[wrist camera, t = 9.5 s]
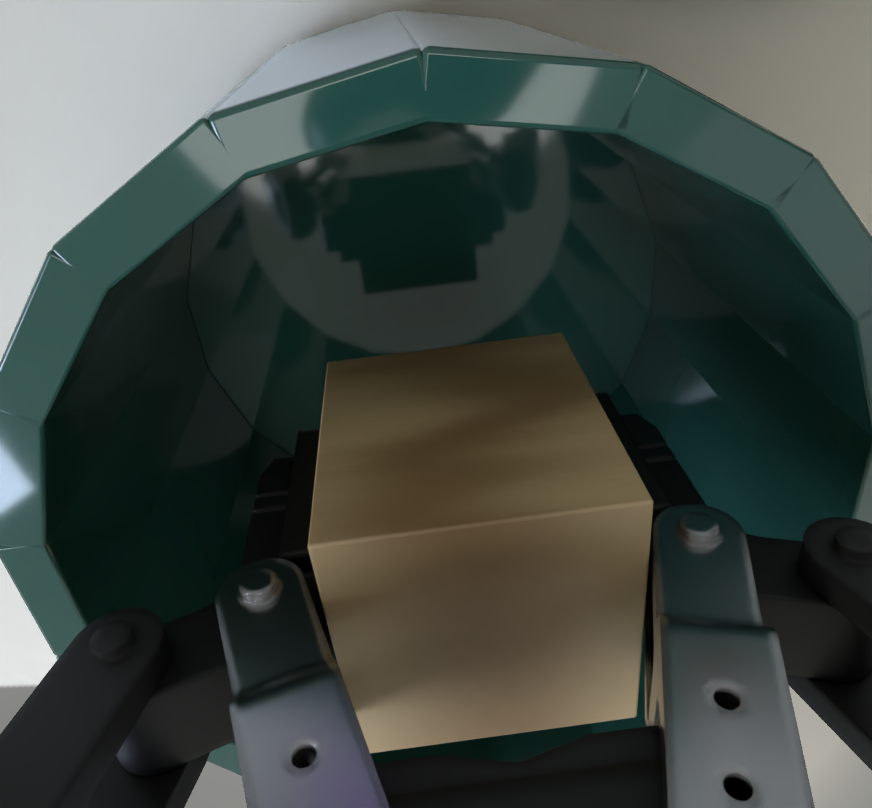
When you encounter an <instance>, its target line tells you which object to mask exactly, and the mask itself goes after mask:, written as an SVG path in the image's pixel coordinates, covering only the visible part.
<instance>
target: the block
mask: <svg viewBox="0 0 872 808" xmlns="http://www.w3.org/2000/svg"><path fill="white" fill-rule="evenodd" d="M652 514H653V500H652V498H651V496H650V494H649V492H648V491H647V489H646V487H645V485H644V483H643V481H642V480H641V478H640V476H639V474H638V472H637V470H636V468H635V467H634V465H633V463H632V461H631V459H630V457H629V456H628V454H627V452H626V450H625V448H624V446H623V445H622V443H621V441H620V439H619V437H618V435H617V433H616V432H615V430H614V428H613V426H612V424H611V422H610V421H609V419H608V417H607V415H606V413H605V411H604V410H603V408H602V406H601V404H600V402H599V400H598V398H597V397H596V395H595V393H594V391H593V389H592V387H591V386H590V384H589V382H588V380H587V378H586V376H585V375H584V373H583V371H582V369H581V367H580V365H579V363H578V362H577V360H576V358H575V356H574V354H573V352H572V351H571V349H570V347H569V345H568V343H567V341H566V340H565V338H564V336H563V334H562V333H555V334H547V335H539V336H531V337H523V338H515V339H507V340H499V341H491V342H483V343H475V344H467V345H459V346H451V347H443V348H436V349H428V350H420V351H412V352H404V353H396V354H388V355H380V356H372V357H364V358H356V359H348V360H340V361H332V362H328V363H327V367H326V377H325V386H324V396H323V405H322V415H321V424H320V433H319V443H318V452H317V462H316V471H315V481H314V490H313V499H312V509H311V518H310V528H309V537H308V546H307V547H308V551H309V555H310V559H311V563H312V567H313V570H314V574H315V578H316V582H317V586H318V590H319V594H320V598H321V602H322V605H323V609H324V613H325V617H326V621H327V625H328V629H329V633H330V637H331V640H332V644H333V648H334V652H335V656H336V660H337V663H338V666H339V668H340V671H341V674H342V677H343V679H344V682H345V685H346V688H347V691H348V693H349V696H350V699H351V702H352V704H353V707H354V710H355V713H356V715H357V718H358V721H359V724H360V727H361V729H362V732H363V735H364V738H365V740H366V743H367V746H368V749H369V751H370V753H377V752H384V751H391V750H399V749H406V748H413V747H421V746H428V745H435V744H443V743H450V742H458V741H465V740H472V739H480V738H487V737H494V736H502V735H509V734H516V733H524V732H531V731H538V730H546V729H553V728H560V727H568V726H575V725H582V724H590V723H597V722H604V721H612V720H619V719H626V718H634V717H636V716H637V707H638V694H639V682H640V669H641V656H642V643H643V630H644V617H645V604H646V592H647V579H648V566H649V553H650V540H651V527H652Z"/></svg>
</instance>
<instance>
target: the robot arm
mask: <svg viewBox="0 0 872 808" xmlns="http://www.w3.org/2000/svg"><path fill="white" fill-rule="evenodd" d="M595 395H596V397H597V398H598V400H599V402H600V404H601V406H602V408H603V410H604V411H605V413H606V415H607V417H608V419H609V421H610V422H611V424H612V426H613V428H614V430H615V432H616V433H617V435H618V437H619V439H620V441H621V443H622V445H623V446H624V448H625V450H626V452H627V454H628V456H629V457H630V459H631V461H632V463H633V465H634V467H635V468H636V470H637V472H638V474H639V476H640V478H641V480H642V481H643V483H644V485H645V487H646V489H647V491H648V492H649V494H650V496H651V498H652V500H653V514H652V527H651V540H650V553H649V566H648V579H647V592H646V604H645V617H644V625H645V634H644V694H645V727H639V728H632V729H625V730H617V731H610V732H603V733H595V734H588V735H585V736H583V737H581V738H578V739H576V740H573V741H571V742H568V743H566V744H564V745H561V746H559V747H556V748H554V749H551V750H549V751H547V752H544V753H542V754H539V755H537V756H535V757H532V758H530V759H527V760H525V761H521V762H503V761H494V760H485V759H476V758H467V757H459V756H450V755H434V756H427V757H419V758H412V759H405V760H397V761H390V762H383V763H375V764H374V763H373V760H372V757H371V754H370V751H369V749H368V746H367V743H366V740H365V738H364V735H363V732H362V729H361V727H360V724H359V721H358V718H357V715H356V713H355V710H354V707H353V704H352V702H351V699H350V696H349V693H348V691H347V688H346V685H345V682H344V679H343V677H342V674H341V671H340V668H339V666H338V663H337V661H336V659H335V658H334V659H333V657H334V654H335V652H334V648H333V644H332V640H331V637H330V633H329V629H328V625H327V621H326V617H325V613H324V609H323V605H322V602H321V598H320V594H319V590H318V586H317V582H316V578H315V574H314V570H313V567H312V563H311V559H310V555H309V551H308V547H307V546H308V537H309V528H310V518H311V509H312V499H313V490H314V481H315V471H316V462H317V452H318V443H319V433H320V428H315V429H307V430H299V431H298V435H297V441H296V448H295V454H294V457H288V458H280V459H274V460H273V462H272V463H271V464H270V465H269V466H268V468H267V469H266V470H265V471H264V473H263V474H262V475H261V476H260V479H259V484H258V489H257V493H256V499H255V503H254V507H253V514H252V517H251V521H250V526H249V530H248V535H247V540H246V544H245V549H244V554H243V558H242V563H241V567H240V568H238V569H236V570H235V571H234V572H232V573H231V574H230V575H229V576H228V577H226V579H225V580H224V581H223V582H222V583H221V585H220V587H219V588H218V591H217V593H216V597H215V602H213V603H212V604H210V605H208V606H206V607H205V608H203V609H200V610H198V611H196V612H193V613H191V614H188V615H185V616H183V617H180V618H178V619H175V620H172V621H170V622H167V623H164V624H162V622H161V620H160V618H159V617H158V615H157V614H155V613H154V612H153V611H151V610H148V609H144V608H125V609H120V610H116V611H114V612H111V613H108V614H106V615H104V616H102V617H100V618H98V619H96V620H95V621H93V622H92V623H90V624H89V625H88V626H86V627H85V628H84V629H83V630H82V631H81V632H80V633H79V634H78V635H77V636H76V637H75V638H74V639H73V641H72V642H71V643H70V645H69V646H68V647H67V648H66V650H65V651H64V652H63V654H62V655H61V656H60V658H59V659H58V660H57V661H56V663H55V664H54V665H53V667H52V668H51V669H50V671H49V672H48V673H47V674H46V676H45V677H44V678H43V680H42V681H41V682H40V684H39V685H38V686H37V687H36V689H35V690H34V691H33V693H32V694H31V695H30V697H29V698H28V699H27V700H26V702H25V703H24V704H23V706H22V707H21V708H20V710H19V711H18V712H17V714H16V715H15V716H14V717H13V719H12V720H11V721H10V723H9V724H8V725H7V726H6V728H5V729H4V730H3V732H2V733H1V734H0V808H184V806H185V804H186V802H187V800H188V798H189V796H190V794H191V792H192V790H193V788H194V786H195V784H196V782H197V780H198V778H199V776H200V774H201V772H202V770H203V768H204V766H205V764H206V761H207V759H208V757H209V754H210V752H211V751H213V750H216V749H218V748H220V747H222V746H225V745H227V744H229V743H231V742H234V741H235V743H236V749H237V754H238V760H239V765H240V770H241V776H242V781H243V787H244V792H245V798H246V803H247V808H815V807H814V802H813V798H812V793H811V788H810V783H809V779H808V774H807V770H806V765H805V760H804V756H803V751H802V746H801V741H800V737H799V732H798V727H797V723H796V718H795V713H794V708H793V704H792V699H791V695H790V690H789V686H790V687H791V688H792V689H793V690H794V691H795V692H796V693H797V694H798V695H799V696H800V697H801V698H802V699H803V700H804V701H805V702H806V703H807V704H808V705H809V706H810V707H811V708H812V709H813V710H814V711H815V712H816V713H817V714H818V715H819V717H820V718H821V719H822V720H823V721H824V722H825V723H827V725H828V726H829V727H830V728H831V729H832V730H833V731H834V732H835V733H836V734H837V735H838V736H839V737H840V738H841V739H842V740H843V741H844V742H845V743H846V744H847V745H848V746H849V748H851V750H852V751H854V753H855V754H856V755H857V756H858V757H859V758H860V759H861V760H862V761H863V762H864V763H865V764H866V765H867V766H868V767H869V768H870V769H871V770H872V524H871V523H868V522H865V521H862V520H858V519H853V518H845V517H831V518H824V519H821V520H818V521H816V522H814V523H812V524H811V525H809V526H808V527H807V529H806V530H805V532H804V535H803V539H802V541H795V540H785V539H775V538H766V537H759V536H754V535H750V534H746V533H745V532H744V529H743V528H742V526H741V525H740V524H739V523H738V521H737V520H736V519H734V518H733V517H732V516H730V515H729V514H727V513H726V512H724V511H721V510H719V509H717V508H714V507H711V506H707V505H706V504H705V502H704V501H703V499H702V497H701V496H700V494H699V493H698V491H697V490H696V488H695V487H694V485H693V483H692V482H691V480H690V479H689V477H688V476H687V474H686V472H685V471H684V469H683V468H682V466H681V465H680V463H679V462H678V460H676V459H675V455H674V454H673V452H672V451H671V449H670V447H669V446H668V447H667V443H666V441H665V440H664V438H663V437H662V435H661V433H660V432H659V430H658V429H657V427H656V426H654V425H653V424H651V423H650V422H648V421H647V420H645V419H644V418H642V417H641V416H639V415H638V414H629V415H621V416H620V414H619V413H618V411H617V409H616V407H615V406H614V404H613V402H612V400H611V399H610V397H609V395H608V394H607V393H606V392H602V393H595Z"/></svg>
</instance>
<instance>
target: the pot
mask: <svg viewBox="0 0 872 808" xmlns="http://www.w3.org/2000/svg"><path fill="white" fill-rule="evenodd" d="M555 333H562V334H563V336H564V338H565V340H566V341H567V343H568V345H569V347H570V349H571V351H572V352H573V354H574V356H575V358H576V360H577V362H578V363H579V365H580V367H581V369H582V371H583V373H584V375H585V376H586V378H587V380H588V382H589V384H590V386H591V387H592V389H593V391H594V393H602V392H606V393H607V394H608V395H609V397H610V399H611V400H612V402H613V404H614V406H615V407H616V409H617V411H618V413H619V414H620V416H621V415H629V414H638V415H639V416H641V417H642V418H644V419H645V420H647V421H648V422H650V423H651V424H653V425H654V426H656V427H657V429H658V430H659V432H660V433H661V435H662V437H663V438H664V440H665V441H666V443H667V447H668V446H669V447H670V449H671V451H672V452H673V454H674V455H675V459H676V460H678V462H679V463H680V465H681V466H682V468H683V469H684V471H685V472H686V474H687V476H688V477H689V479H690V480H691V482H692V483H693V485H694V487H695V488H696V490H697V491H698V493H699V494H700V496H701V497H702V499H703V501H704V502H705V504H706V505H707V506H711V507H714V508H717V509H719V510H721V511H724V512H726V513H727V514H729V515H730V516H732V517H733V518H734V519H736V520H737V521H738V523H739V524H740V525H741V526H742V528H743V529H744V532H745V533H746V534H750V535H754V536H759V537H766V538H775V539H785V540H795V541H802V539H803V535H804V532H805V530H806V529H807V527H808V526H809V525H811V524H812V523H814V522H816V521H818V520H821V519H824V518H831V517H845V518H853V519H858V520H862V521H865V522H868V523H871V524H872V236H871V235H870V233H869V232H868V230H867V229H866V227H865V226H864V224H863V223H862V222H861V220H860V219H859V217H858V216H857V214H856V213H855V212H854V210H853V209H852V207H851V206H850V204H849V203H848V201H847V200H846V199H845V197H844V196H843V194H842V193H841V191H840V190H839V188H838V187H837V186H836V184H835V183H834V181H833V180H832V178H831V177H830V175H829V174H828V173H827V171H826V170H825V168H824V167H823V165H822V164H821V162H820V161H819V160H818V158H815V157H814V155H813V154H812V153H811V152H809V151H807V150H805V149H803V148H801V147H800V146H798V145H796V144H794V143H792V142H790V141H789V140H787V139H785V138H783V137H781V136H779V135H777V134H776V133H774V132H772V131H770V130H768V129H766V128H765V127H763V126H761V125H759V124H757V123H755V122H753V121H752V120H750V119H748V118H746V117H744V116H742V115H741V114H739V113H737V112H735V111H733V110H731V109H729V108H728V107H726V106H724V105H722V104H720V103H718V102H717V101H715V100H713V99H711V98H709V97H707V96H705V95H704V94H702V93H700V92H698V91H696V90H694V89H693V88H691V87H689V86H687V85H685V84H683V83H681V82H680V81H678V80H676V79H674V78H672V77H670V76H669V75H667V74H665V73H663V72H661V71H659V70H657V69H656V68H654V67H652V66H650V65H648V64H644V63H641V62H638V61H635V60H632V59H628V58H625V57H622V56H619V55H616V54H612V53H609V52H606V51H603V50H600V49H596V48H593V47H590V46H587V45H584V44H580V43H577V42H574V41H571V40H568V39H564V38H561V37H558V36H555V35H552V34H548V33H545V32H542V31H539V30H536V29H532V28H529V27H526V26H523V25H520V24H516V23H513V22H510V21H507V20H503V19H496V18H484V17H472V16H460V15H449V14H440V13H424V12H413V11H401V10H396V11H394V13H393V12H391V11H389V12H386V13H383V14H379V15H376V16H373V17H370V18H367V19H364V20H361V21H357V22H353V23H350V24H347V25H344V26H341V27H338V28H336V29H333V30H330V31H327V32H324V33H321V34H318V35H315V36H312V37H309V38H306V39H303V40H300V41H296V42H293V43H291V44H290V45H289V46H285V47H284V48H282V49H281V50H280V51H279V52H278V53H277V54H275V55H274V56H273V57H272V58H271V59H269V60H268V61H267V62H266V63H265V64H264V65H262V66H261V67H260V68H259V69H258V70H256V71H255V72H254V73H253V74H252V75H251V76H249V77H248V78H247V79H246V80H245V81H243V82H242V83H241V84H240V85H239V86H238V87H236V88H235V89H234V90H233V91H232V92H230V93H229V94H228V95H227V96H226V97H225V98H223V99H222V100H221V101H220V102H219V103H218V104H216V105H215V106H214V107H213V108H212V109H210V110H209V111H208V112H207V113H206V114H205V115H203V116H202V117H201V118H200V119H199V120H197V121H196V122H195V123H194V124H193V125H192V126H191V127H189V128H188V129H187V130H186V131H185V132H184V133H182V134H181V135H180V136H179V137H178V138H177V139H175V140H174V141H173V142H172V143H171V144H170V145H169V146H167V147H166V148H165V149H164V150H163V151H162V152H160V153H159V154H158V155H157V156H156V157H155V158H154V159H152V160H151V161H150V162H149V163H148V164H147V165H145V166H144V167H143V168H142V169H141V170H140V171H138V172H137V173H136V174H135V175H134V176H133V177H132V178H130V179H129V180H128V181H127V182H126V183H125V184H123V185H122V186H121V187H120V188H119V189H118V190H116V191H115V192H114V193H113V194H112V195H111V196H110V197H108V198H107V199H106V200H105V201H104V202H103V203H101V204H100V205H99V206H98V207H97V208H96V209H95V210H93V211H92V212H91V213H90V214H89V215H88V216H86V217H85V218H84V219H83V220H82V221H81V222H79V223H78V224H77V225H76V226H75V227H74V228H73V229H71V230H70V231H69V232H68V233H67V234H66V235H64V236H63V237H62V238H61V239H60V240H59V241H58V242H56V243H55V244H54V245H53V248H52V249H51V250H50V251H49V252H48V253H47V256H46V258H45V260H44V263H43V265H42V267H41V269H40V272H39V274H38V276H37V279H36V281H35V283H34V286H33V288H32V290H31V292H30V295H29V297H28V299H27V302H26V304H25V306H24V309H23V311H22V313H21V315H20V318H19V320H18V322H17V325H16V327H15V329H14V332H13V334H12V336H11V338H10V341H9V343H8V345H7V348H6V350H5V352H4V355H3V357H2V359H1V362H0V559H1V560H2V562H3V564H4V566H5V568H6V569H7V571H8V573H9V575H10V576H11V578H12V580H13V582H14V584H15V585H16V587H17V589H18V591H19V592H20V594H21V596H22V598H23V600H24V601H25V603H26V605H27V607H28V608H29V610H30V612H31V614H32V616H33V617H34V619H35V621H36V623H37V624H38V626H39V628H40V630H41V632H42V633H43V635H44V637H45V639H46V640H47V642H48V644H49V646H50V648H51V649H52V651H53V653H54V654H55V655H57V660H58V659H59V658H60V656H61V655H62V654H63V652H64V651H65V650H66V648H67V647H68V646H69V645H70V643H71V642H72V641H73V639H74V638H75V637H76V636H77V635H78V634H79V633H80V632H81V631H82V630H83V629H84V628H85V627H86V626H88V625H89V624H90V623H92V622H93V621H95V620H96V619H98V618H100V617H102V616H104V615H106V614H108V613H111V612H114V611H116V610H120V609H125V608H144V609H148V610H151V611H153V612H154V613H155V614H157V615H158V617H159V618H160V620H161V622H162V624H164V623H167V622H170V621H172V620H175V619H178V618H180V617H183V616H185V615H188V614H191V613H193V612H196V611H198V610H200V609H203V608H205V607H206V606H208V605H210V604H212V603H213V602H215V597H216V593H217V591H218V588H219V587H220V585H221V583H222V582H223V581H224V580H225V579H226V577H228V576H229V575H230V574H231V573H232V572H234V571H235V570H236V569H238V568H240V567H241V563H242V558H243V554H244V549H245V544H246V540H247V535H248V530H249V526H250V521H251V517H252V514H253V507H254V503H255V499H256V493H257V489H258V484H259V479H260V476H261V475H262V474H263V473H264V471H265V470H266V469H267V468H268V466H269V465H270V464H271V463H272V462H273V460H274V459H280V458H288V457H294V454H295V448H296V441H297V435H298V431H299V430H307V429H315V428H320V424H321V415H322V405H323V396H324V386H325V377H326V367H327V363H328V362H332V361H340V360H348V359H356V358H364V357H372V356H380V355H388V354H396V353H404V352H412V351H420V350H428V349H436V348H443V347H451V346H459V345H467V344H475V343H483V342H491V341H499V340H507V339H515V338H523V337H531V336H539V335H547V334H555ZM644 634H645V625H644V630H643V643H642V656H641V669H640V682H639V694H638V707H637V716H636V717H634V718H626V719H619V720H612V721H604V722H597V723H590V724H582V725H575V726H568V727H560V728H553V729H546V730H538V731H531V732H524V733H516V734H509V735H502V736H494V737H487V738H480V739H472V740H465V741H458V742H450V743H443V744H435V745H428V746H421V747H413V748H406V749H399V750H391V751H384V752H377V753H370V754H371V757H372V760H373V763H374V764H375V763H383V762H390V761H397V760H405V759H412V758H419V757H427V756H434V755H450V756H459V757H467V758H476V759H485V760H494V761H503V762H521V761H525V760H527V759H530V758H532V757H535V756H537V755H539V754H542V753H544V752H547V751H549V750H551V749H554V748H556V747H559V746H561V745H564V744H566V743H568V742H571V741H573V740H576V739H578V738H581V737H583V736H585V735H588V734H595V733H603V732H610V731H617V730H625V729H632V728H639V727H645V694H644ZM334 658H335V659H336V656H335V654H334V657H333V659H334ZM336 661H337V660H336ZM207 761H209V762H211V763H213V764H215V765H218V766H220V767H222V768H225V769H227V770H229V771H232V772H234V773H236V774H239V775H241V770H240V765H239V760H238V754H237V749H236V743H235V741H234V742H231V743H229V744H227V745H225V746H222V747H220V748H218V749H216V750H213V751H211V752H210V754H209V757H208V759H207Z"/></svg>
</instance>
